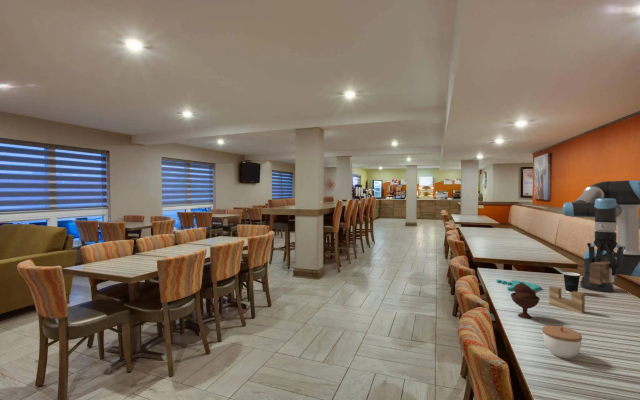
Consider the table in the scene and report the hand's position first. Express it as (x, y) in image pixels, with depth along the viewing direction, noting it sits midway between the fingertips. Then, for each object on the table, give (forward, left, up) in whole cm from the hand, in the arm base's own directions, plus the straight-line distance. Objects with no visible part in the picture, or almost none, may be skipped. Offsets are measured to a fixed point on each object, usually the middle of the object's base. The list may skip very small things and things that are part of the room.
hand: (605, 280), depth 144 cm
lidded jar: (+62, +15, -16) cm, 66 cm away
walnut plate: (+2, 0, 0) cm, 2 cm away
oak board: (+9, -11, -15) cm, 21 cm away
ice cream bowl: (+39, -12, -16) cm, 44 cm away
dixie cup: (-23, -26, -16) cm, 38 cm away
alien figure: (-7, -44, -16) cm, 48 cm away
